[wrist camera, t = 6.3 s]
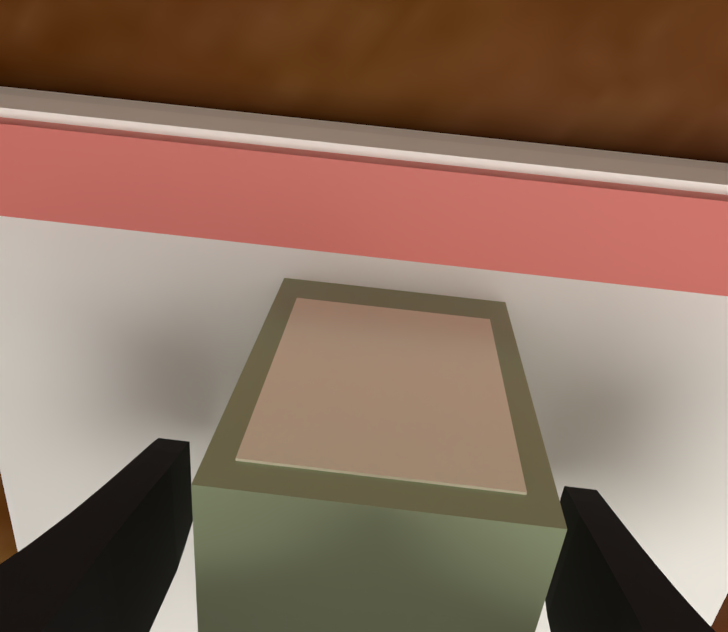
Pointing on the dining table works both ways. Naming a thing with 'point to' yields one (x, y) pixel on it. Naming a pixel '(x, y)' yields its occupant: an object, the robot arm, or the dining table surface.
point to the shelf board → (359, 268)
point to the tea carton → (377, 472)
